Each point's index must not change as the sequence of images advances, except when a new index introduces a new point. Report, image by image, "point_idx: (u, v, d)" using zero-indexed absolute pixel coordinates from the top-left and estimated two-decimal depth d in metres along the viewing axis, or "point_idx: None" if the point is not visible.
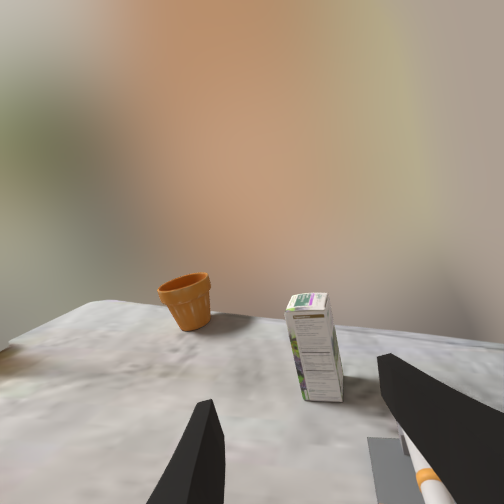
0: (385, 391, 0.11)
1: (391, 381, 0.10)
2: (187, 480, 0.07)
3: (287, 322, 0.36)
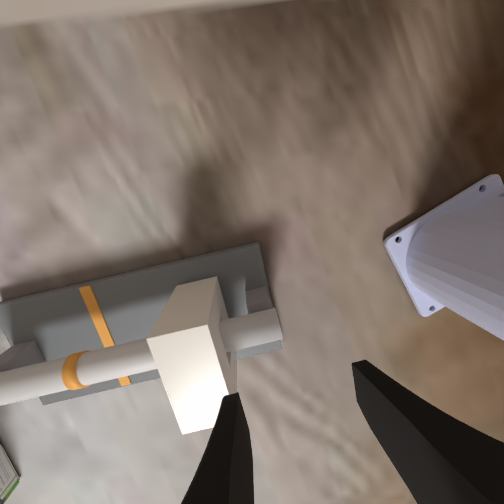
0: (360, 398, 0.11)
1: (364, 388, 0.10)
2: (225, 469, 0.07)
3: None
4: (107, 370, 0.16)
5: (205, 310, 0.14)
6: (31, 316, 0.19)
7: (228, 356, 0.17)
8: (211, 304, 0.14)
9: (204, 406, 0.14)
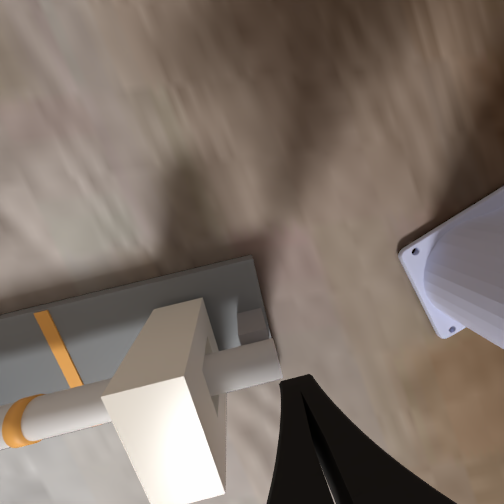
0: None
1: None
2: (307, 448, 0.07)
3: None
4: (61, 423, 0.12)
5: (183, 350, 0.11)
6: None
7: (215, 399, 0.14)
8: (191, 342, 0.11)
9: (183, 478, 0.10)
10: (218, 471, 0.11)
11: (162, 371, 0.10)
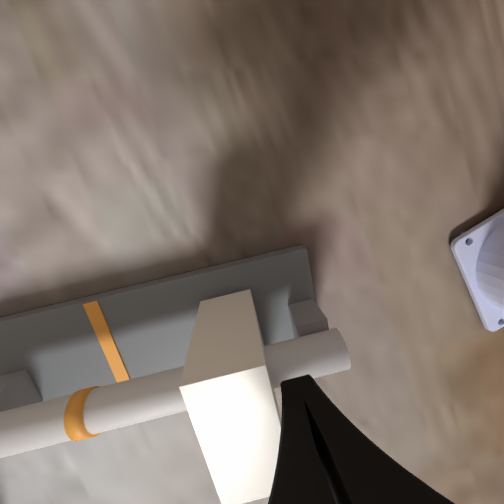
0: None
1: None
2: (308, 448, 0.07)
3: None
4: (124, 415, 0.12)
5: (253, 340, 0.10)
6: (22, 339, 0.15)
7: None
8: (258, 332, 0.11)
9: (255, 473, 0.10)
10: None
11: (238, 361, 0.09)
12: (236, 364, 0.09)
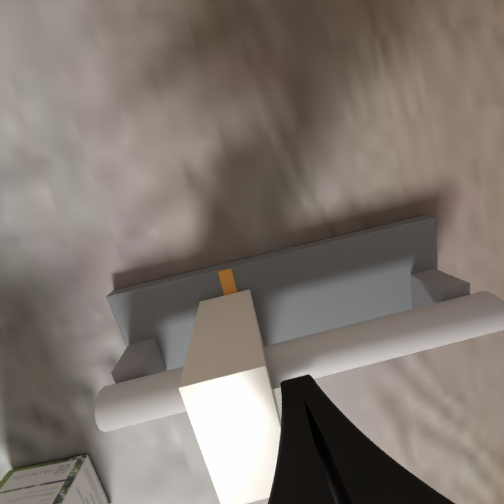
0: None
1: None
2: (308, 448, 0.07)
3: None
4: (293, 373, 0.12)
5: (253, 341, 0.10)
6: (155, 307, 0.15)
7: None
8: (258, 332, 0.11)
9: (255, 474, 0.10)
10: None
11: (238, 361, 0.09)
12: (236, 365, 0.09)
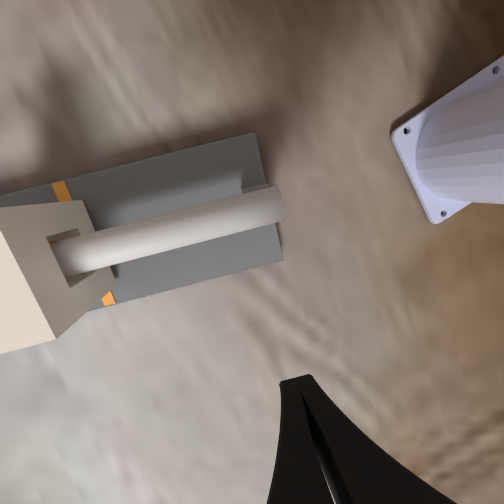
0: None
1: None
2: (307, 448, 0.07)
3: None
4: (83, 253, 0.13)
5: None
6: None
7: (79, 280, 0.15)
8: None
9: (10, 320, 0.11)
10: (46, 316, 0.12)
11: None
12: None
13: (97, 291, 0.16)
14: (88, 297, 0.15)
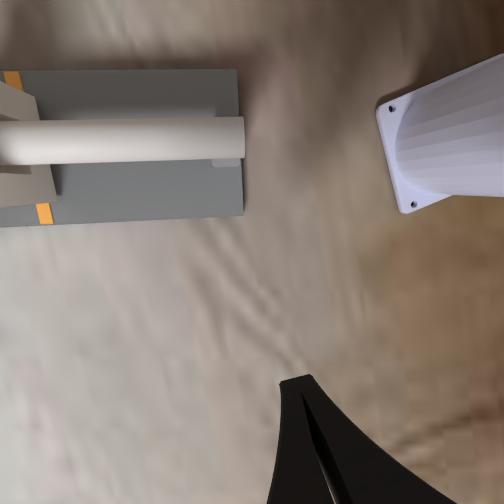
0: None
1: None
2: (307, 448, 0.07)
3: None
4: (11, 136, 0.12)
5: None
6: None
7: (5, 173, 0.13)
8: None
9: None
10: None
11: None
12: None
13: (27, 194, 0.14)
14: (12, 194, 0.13)
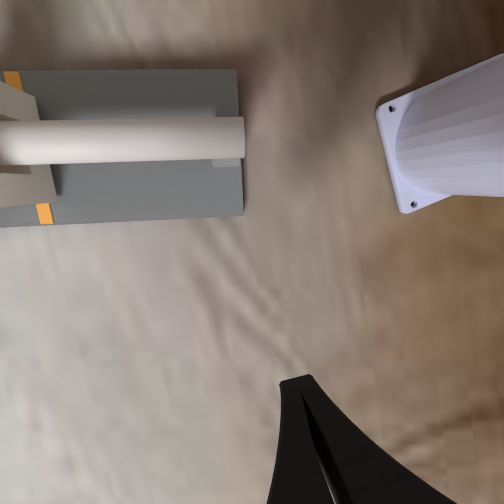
0: None
1: None
2: (307, 448, 0.07)
3: None
4: (11, 136, 0.12)
5: None
6: None
7: (5, 173, 0.13)
8: None
9: None
10: None
11: None
12: None
13: (27, 194, 0.14)
14: (12, 194, 0.13)
